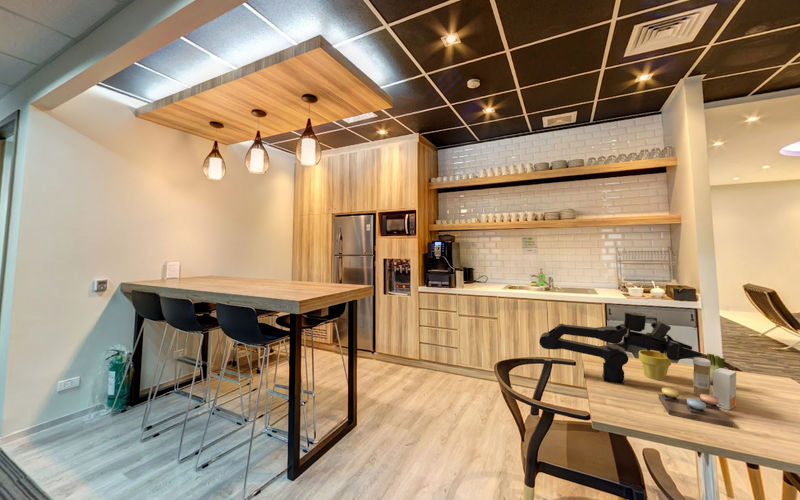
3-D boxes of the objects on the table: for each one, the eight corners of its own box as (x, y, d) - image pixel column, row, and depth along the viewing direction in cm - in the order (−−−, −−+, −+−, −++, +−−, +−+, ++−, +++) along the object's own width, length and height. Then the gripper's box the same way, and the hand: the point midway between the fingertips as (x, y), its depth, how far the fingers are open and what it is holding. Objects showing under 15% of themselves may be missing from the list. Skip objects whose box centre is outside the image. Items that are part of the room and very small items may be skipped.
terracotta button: (703, 405, 100) (703, 398, 100) (697, 399, 104) (697, 392, 104) (721, 408, 98) (721, 401, 98) (715, 402, 102) (715, 395, 102)
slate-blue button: (689, 410, 97) (689, 403, 97) (684, 403, 101) (684, 397, 101) (708, 413, 95) (708, 406, 95) (702, 407, 99) (702, 400, 99)
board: (668, 414, 99) (668, 407, 99) (658, 398, 109) (658, 391, 109) (733, 427, 92) (733, 419, 92) (715, 408, 102) (715, 401, 102)
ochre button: (663, 398, 105) (664, 391, 105) (660, 392, 108) (660, 386, 108) (680, 401, 102) (680, 394, 102) (676, 395, 106) (676, 389, 106)
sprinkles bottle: (711, 396, 111) (712, 359, 110) (708, 399, 108) (708, 362, 108) (694, 391, 114) (695, 355, 114) (691, 394, 112) (691, 358, 112)
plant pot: (643, 380, 124) (643, 356, 124) (635, 370, 134) (635, 348, 134) (675, 384, 120) (675, 359, 120) (664, 374, 130) (664, 351, 130)
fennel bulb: (727, 389, 116) (727, 358, 116) (710, 386, 118) (710, 356, 118) (718, 382, 122) (718, 353, 122) (702, 380, 123) (702, 351, 123)
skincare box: (729, 411, 101) (730, 375, 101) (712, 405, 105) (712, 370, 104) (736, 406, 104) (736, 371, 103) (719, 400, 107) (719, 367, 107)
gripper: (650, 325, 111) (709, 335, 103) (640, 316, 127) (690, 324, 119) (647, 355, 111) (705, 367, 103) (637, 342, 127) (687, 352, 119)
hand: (696, 351), depth 111 cm, fingers open, 9 cm apart
